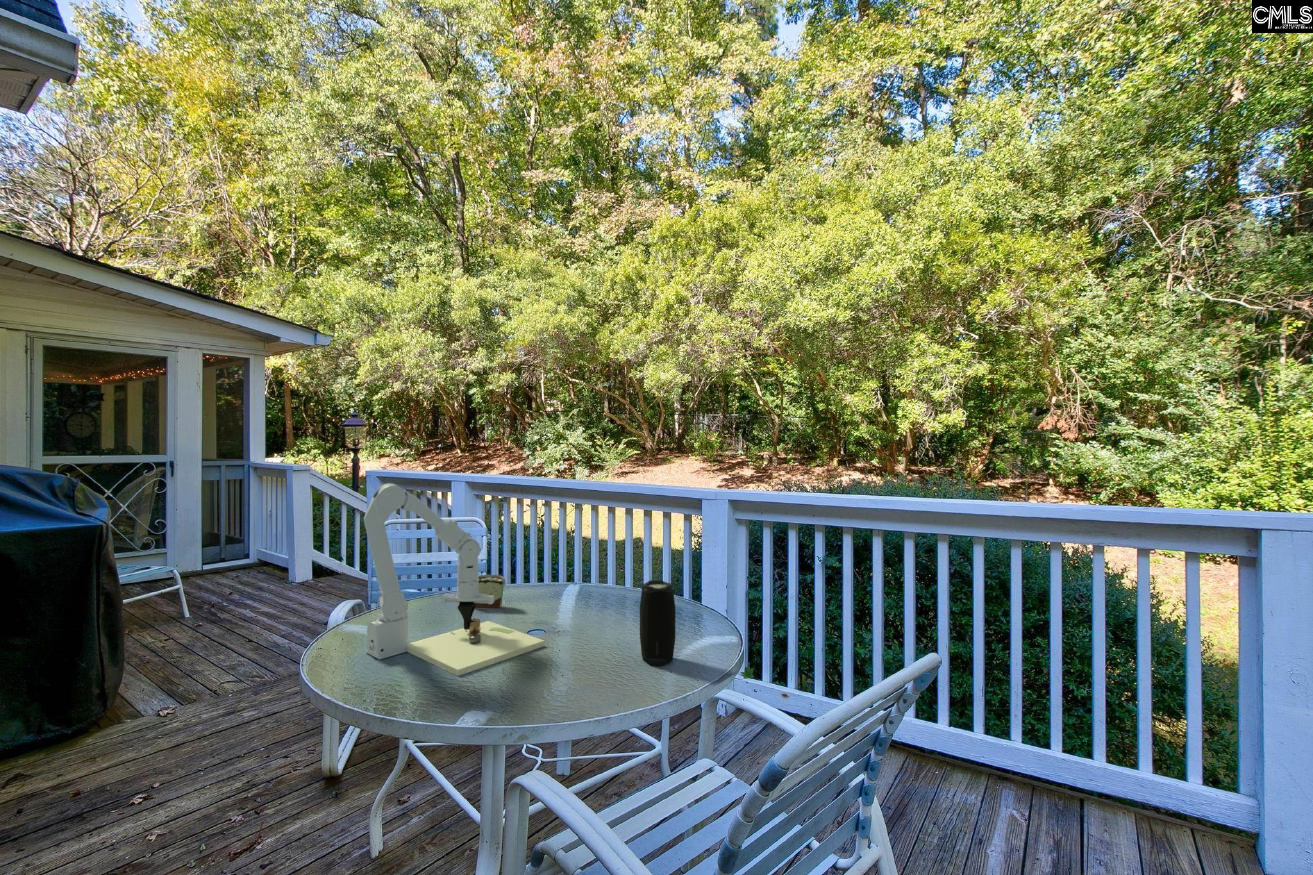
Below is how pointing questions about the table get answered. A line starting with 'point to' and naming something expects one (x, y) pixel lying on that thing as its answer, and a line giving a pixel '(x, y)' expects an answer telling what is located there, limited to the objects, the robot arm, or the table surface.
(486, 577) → the food container
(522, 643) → the dial board
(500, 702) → the table surface
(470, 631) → the dial needle
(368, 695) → the table surface
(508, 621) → the table surface
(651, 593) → the portable speaker
